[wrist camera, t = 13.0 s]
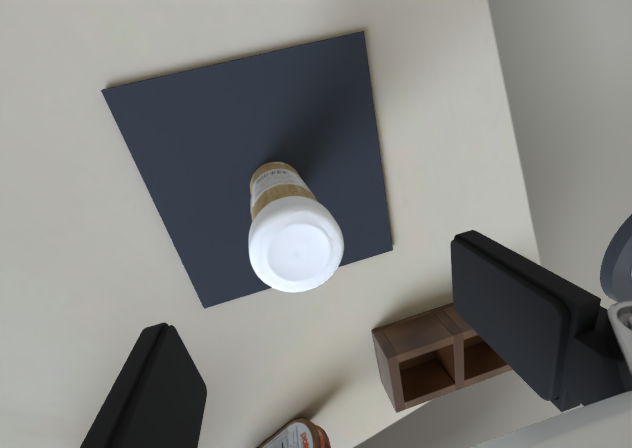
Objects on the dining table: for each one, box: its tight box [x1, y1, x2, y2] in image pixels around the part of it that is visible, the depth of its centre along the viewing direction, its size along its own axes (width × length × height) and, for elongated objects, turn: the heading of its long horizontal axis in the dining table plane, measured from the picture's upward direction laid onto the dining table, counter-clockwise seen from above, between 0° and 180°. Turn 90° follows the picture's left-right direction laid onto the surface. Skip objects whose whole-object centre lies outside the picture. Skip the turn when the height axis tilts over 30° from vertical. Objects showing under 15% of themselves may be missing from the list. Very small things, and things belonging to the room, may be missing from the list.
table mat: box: [101, 31, 393, 308], centre depth 26 cm, size 20×20×1 cm
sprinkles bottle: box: [249, 162, 344, 292], centre depth 20 cm, size 5×5×14 cm
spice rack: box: [372, 303, 512, 413], centre depth 35 cm, size 17×9×4 cm, turn 101°
